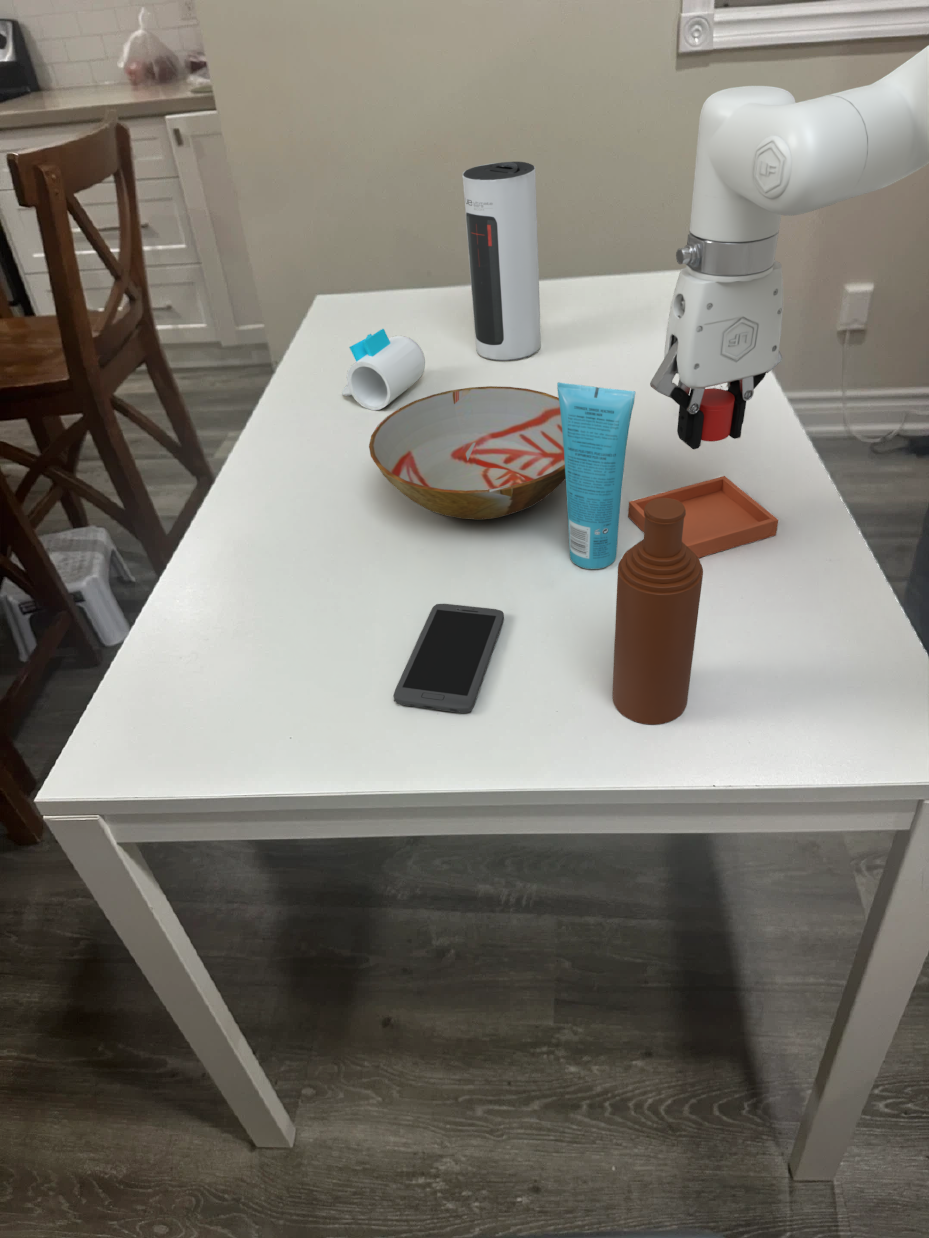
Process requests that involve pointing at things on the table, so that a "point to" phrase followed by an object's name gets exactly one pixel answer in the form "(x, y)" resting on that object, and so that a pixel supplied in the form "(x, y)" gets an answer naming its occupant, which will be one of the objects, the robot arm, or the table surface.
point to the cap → (716, 414)
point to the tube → (594, 468)
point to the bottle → (656, 619)
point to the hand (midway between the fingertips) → (709, 436)
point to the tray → (714, 516)
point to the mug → (383, 369)
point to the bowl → (473, 450)
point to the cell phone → (450, 658)
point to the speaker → (503, 259)
